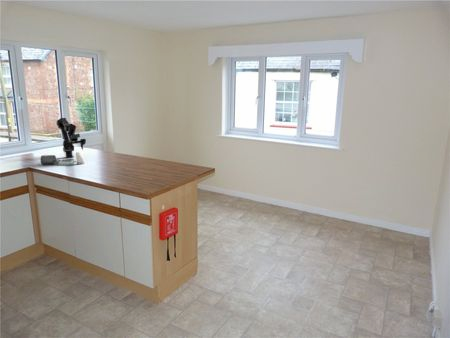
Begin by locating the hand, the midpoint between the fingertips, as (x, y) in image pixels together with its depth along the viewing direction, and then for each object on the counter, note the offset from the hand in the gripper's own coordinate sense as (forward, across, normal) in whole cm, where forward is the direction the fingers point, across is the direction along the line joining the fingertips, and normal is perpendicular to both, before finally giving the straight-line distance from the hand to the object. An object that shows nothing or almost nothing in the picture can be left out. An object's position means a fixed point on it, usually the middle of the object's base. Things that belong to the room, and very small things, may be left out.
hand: (77, 150), depth 297 cm
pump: (+12, 0, +5) cm, 13 cm away
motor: (+3, -15, +13) cm, 20 cm away
